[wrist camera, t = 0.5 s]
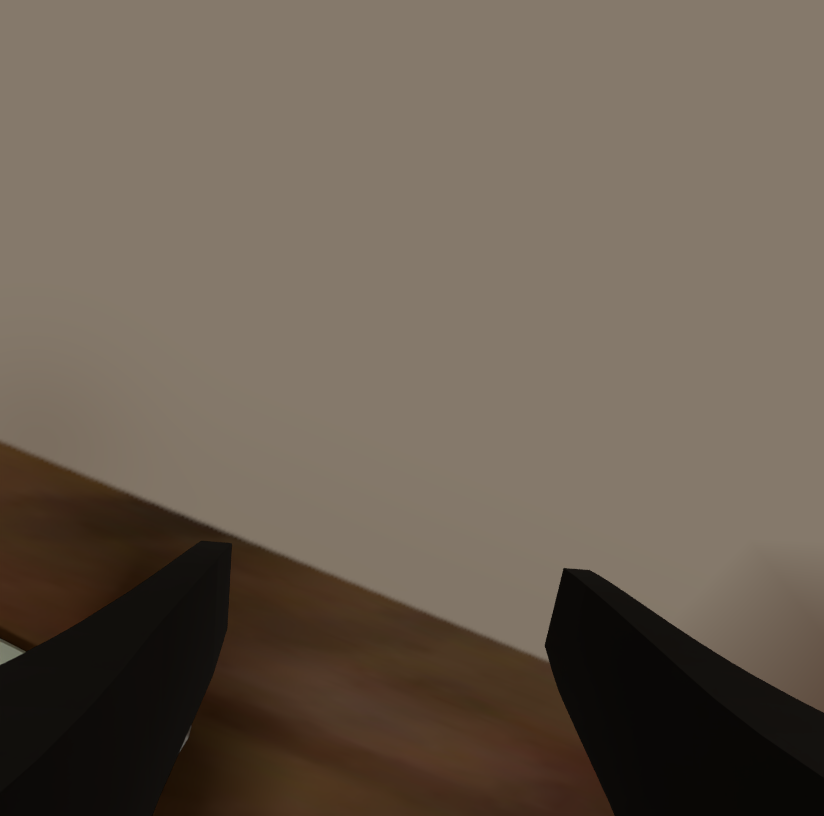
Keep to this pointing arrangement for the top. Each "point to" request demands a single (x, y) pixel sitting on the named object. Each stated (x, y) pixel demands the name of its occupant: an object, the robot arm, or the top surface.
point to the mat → (8, 651)
